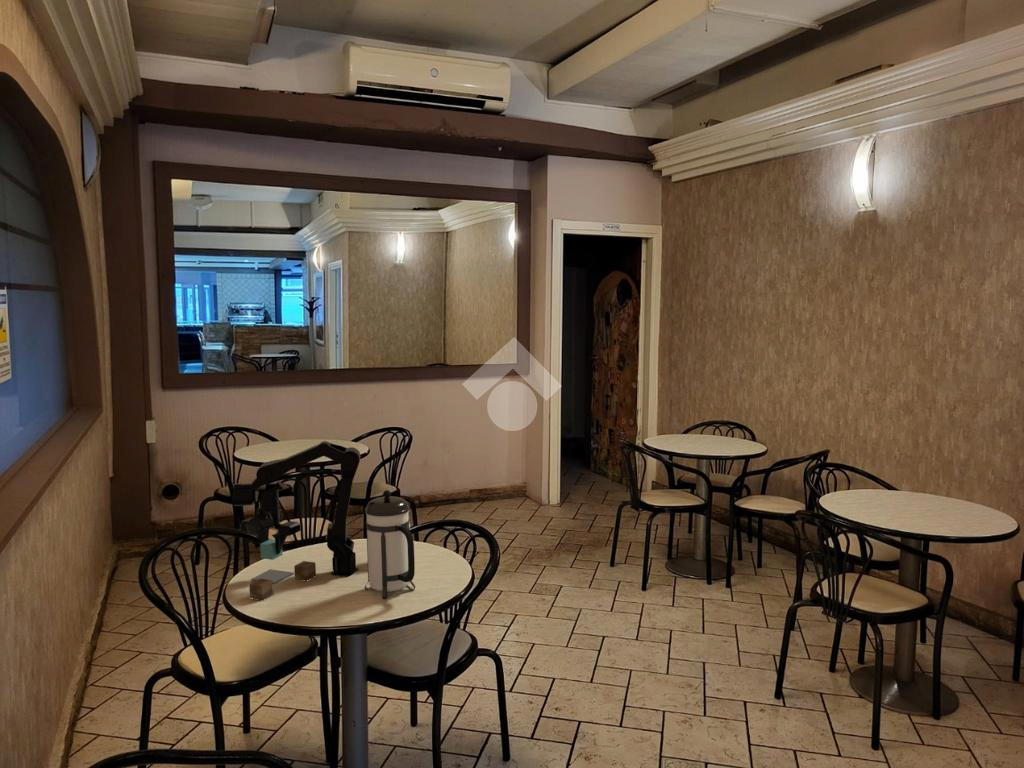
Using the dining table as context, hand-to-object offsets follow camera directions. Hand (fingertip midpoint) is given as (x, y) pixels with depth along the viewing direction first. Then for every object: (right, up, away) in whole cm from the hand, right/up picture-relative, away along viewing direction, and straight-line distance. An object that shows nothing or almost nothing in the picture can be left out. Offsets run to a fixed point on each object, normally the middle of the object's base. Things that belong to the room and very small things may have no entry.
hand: (271, 553), depth 225 cm
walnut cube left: (+2, -9, -14) cm, 17 cm away
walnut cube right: (+10, -8, 0) cm, 13 cm away
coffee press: (+39, -9, -11) cm, 42 cm away
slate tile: (0, -8, +1) cm, 8 cm away
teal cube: (0, -1, 0) cm, 1 cm away
